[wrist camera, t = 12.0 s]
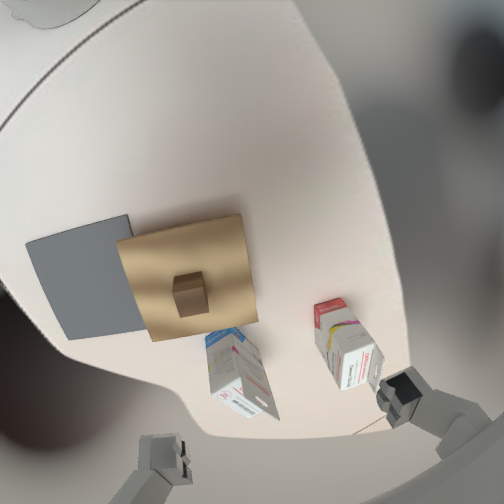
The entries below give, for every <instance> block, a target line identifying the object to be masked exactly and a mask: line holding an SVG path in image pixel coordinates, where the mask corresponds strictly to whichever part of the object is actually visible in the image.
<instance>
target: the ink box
mask: <svg viewBox="0 0 504 504" xmlns="http://www.w3.org/2000/svg"><path fill="white" fill-rule="evenodd" d="M205 340H206V351H207V362H208V372H209V381H210V391H211V395H212V396H214V397H215V398H217V399H218V400H219V401H221V402H222V403H224V404H225V405H227V406H228V407H230V408H231V409H233V410H235V411H236V412H238V413H239V414H241V415H242V416H244V417H245V418H247V419H249V418H251V417H253V416H255V415H257V414H259V413H261V412H263V411H264V412H265V413H267V414H268V415H270V416H272V417H273V418H275V419H276V420H278V421H280V418H279V415H278V412H277V409H276V405H275V401H274V398H273V395H272V392H271V388H270V385H269V382H268V379H267V376H266V373H265V369H264V366H263V363H262V360H261V356H260V353H259V351H258V350H257V349H256V348H255V347H254V346H253V345H252V344H251V343H250V342H249V341H248V340H247V339H246V338H245V337H244V336H243V335H242V334H241V333H240V332H239V331H238V330H237V329H236V328H235V327H232V328H227V329H223V330H218V331H214V332H213V333H211V334H210V335H209V336H207V337H205Z"/></svg>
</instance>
